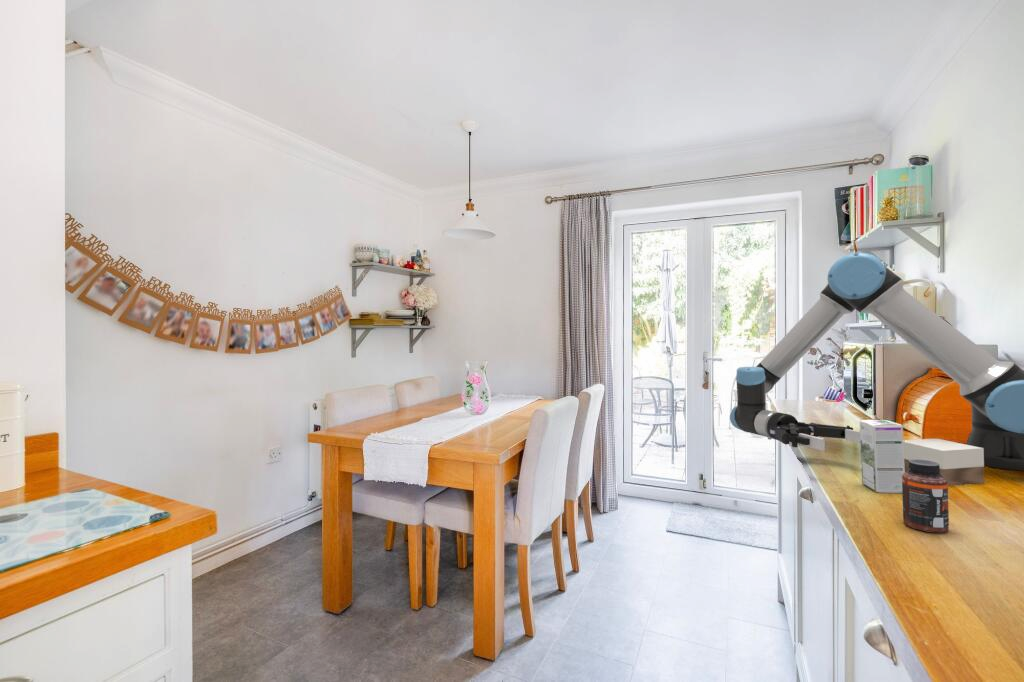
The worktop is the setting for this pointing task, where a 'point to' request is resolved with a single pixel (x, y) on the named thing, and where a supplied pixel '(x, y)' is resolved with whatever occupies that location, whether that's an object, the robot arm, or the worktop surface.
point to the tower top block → (944, 453)
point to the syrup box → (882, 455)
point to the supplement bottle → (925, 497)
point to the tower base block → (959, 475)
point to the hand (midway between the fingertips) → (848, 442)
